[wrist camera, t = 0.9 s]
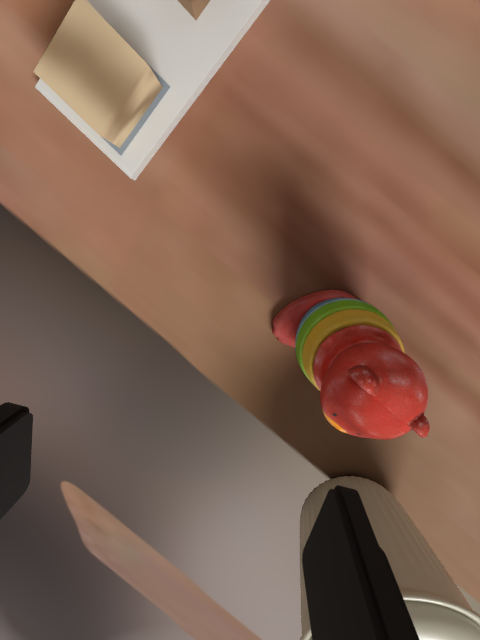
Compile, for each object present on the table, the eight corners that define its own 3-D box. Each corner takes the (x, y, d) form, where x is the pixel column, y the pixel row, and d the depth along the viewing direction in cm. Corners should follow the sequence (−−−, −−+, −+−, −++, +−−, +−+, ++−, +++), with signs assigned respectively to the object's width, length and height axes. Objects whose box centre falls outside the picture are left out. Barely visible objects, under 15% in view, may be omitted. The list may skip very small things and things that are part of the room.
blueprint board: (181, -137, 25) (177, -157, 23) (282, -16, 26) (283, -28, 25) (43, 92, 30) (34, 86, 29) (135, 180, 32) (130, 178, 31)
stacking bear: (264, 325, 36) (269, 409, 18) (329, 265, 33) (405, 299, 16) (322, 384, 37) (377, 510, 20) (389, 331, 35) (515, 425, 18)
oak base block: (104, 27, 27) (79, -8, 23) (162, 87, 28) (147, 64, 24) (63, 93, 29) (33, 71, 25) (119, 147, 30) (99, 135, 26)
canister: (298, 442, 40) (340, 656, 20) (430, 467, 40) (608, 709, 20) (271, 539, 45) (281, 787, 25) (387, 562, 45) (493, 830, 25)
